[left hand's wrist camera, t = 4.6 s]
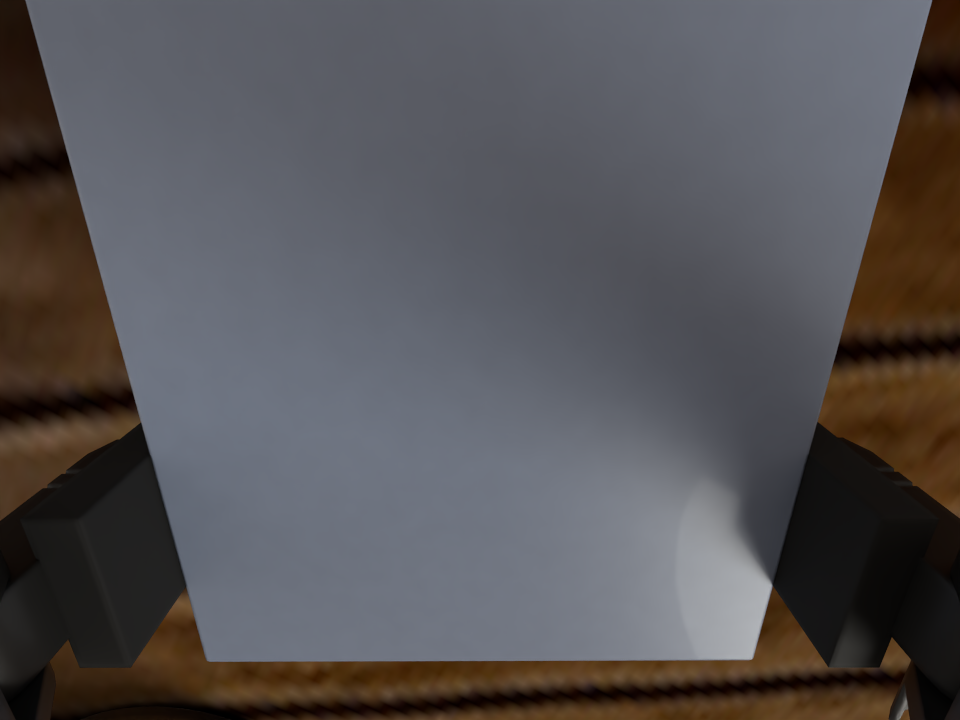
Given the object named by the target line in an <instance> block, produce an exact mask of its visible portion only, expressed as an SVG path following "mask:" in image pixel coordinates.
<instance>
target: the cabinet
mask: <svg viewBox="0 0 960 720" xmlns="http://www.w3.org/2000/svg"><path fill="white" fill-rule="evenodd" d="M931 2H932V0H26V4H27V8H28V11H29V15H30V19H31V22H32V26H33V30H34V33H35V37H36V40H37V44H38V48H39V51H40V55H41V59H42V62H43V66H44V70H45V73H46V77H47V81H48V84H49V88H50V92H51V95H52V99H53V102H54V106H55V110H56V113H57V117H58V121H59V124H60V128H61V132H62V135H63V139H64V143H65V146H66V150H67V154H68V157H69V161H70V164H71V168H72V172H73V175H74V179H75V183H76V186H77V190H78V194H79V197H80V201H81V205H82V208H83V212H84V216H85V219H86V223H87V226H88V230H89V234H90V237H91V241H92V245H93V248H94V252H95V256H96V259H97V263H98V267H99V270H100V274H101V278H102V281H103V285H104V288H105V292H106V296H107V299H108V303H109V307H110V310H111V314H112V318H113V321H114V325H115V329H116V332H117V336H118V340H119V343H120V347H121V350H122V354H123V358H124V361H125V365H126V369H127V372H128V376H129V380H130V383H131V387H132V391H133V394H134V398H135V402H136V405H137V409H138V412H139V416H140V420H141V423H142V427H143V431H144V434H145V438H146V442H147V445H148V449H149V453H150V456H151V460H152V464H153V467H154V471H155V474H156V478H157V482H158V485H159V489H160V493H161V496H162V500H163V504H164V507H165V511H166V515H167V518H168V522H169V526H170V529H171V533H172V536H173V540H174V544H175V547H176V551H177V555H178V558H179V562H180V566H181V569H182V573H183V577H184V580H185V584H186V588H187V591H188V595H189V598H190V602H191V606H192V609H193V613H194V617H195V620H196V624H197V628H198V631H199V635H200V639H201V642H202V646H203V650H204V653H205V657H206V660H207V661H210V662H227V661H574V660H751V659H752V658H753V656H754V653H755V649H756V645H757V641H758V638H759V634H760V630H761V627H762V623H763V619H764V616H765V612H766V608H767V605H768V601H769V597H770V594H771V590H772V586H773V583H774V579H775V575H776V572H777V568H778V564H779V561H780V557H781V553H782V550H783V546H784V542H785V539H786V535H787V531H788V528H789V524H790V520H791V517H792V513H793V509H794V506H795V502H796V498H797V495H798V491H799V487H800V484H801V480H802V476H803V472H804V469H805V465H806V461H807V458H808V454H809V450H810V447H811V443H812V439H813V436H814V432H815V428H816V425H817V421H818V417H819V414H820V410H821V406H822V403H823V399H824V395H825V392H826V388H827V384H828V381H829V377H830V373H831V370H832V366H833V362H834V359H835V355H836V351H837V348H838V344H839V340H840V337H841V333H842V329H843V326H844V322H845V318H846V314H847V311H848V307H849V303H850V300H851V296H852V292H853V289H854V285H855V281H856V278H857V274H858V270H859V267H860V263H861V259H862V256H863V252H864V248H865V245H866V241H867V237H868V234H869V230H870V226H871V223H872V219H873V215H874V212H875V208H876V204H877V201H878V197H879V193H880V190H881V186H882V182H883V179H884V175H885V171H886V168H887V164H888V160H889V156H890V153H891V149H892V145H893V142H894V138H895V134H896V131H897V127H898V123H899V120H900V116H901V112H902V109H903V105H904V101H905V98H906V94H907V90H908V87H909V83H910V79H911V76H912V72H913V68H914V65H915V61H916V57H917V54H918V50H919V46H920V43H921V39H922V35H923V32H924V28H925V24H926V21H927V17H928V13H929V10H930V6H931Z"/></svg>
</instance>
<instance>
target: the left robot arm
mask: <svg viewBox="0 0 960 720" xmlns="http://www.w3.org/2000/svg"><path fill="white" fill-rule="evenodd" d="M773 586H774V588H775V589H776V591H777V592H778V594H779V595H780V596H781V598H782V599H783V601H784V602H785V604H786V605H787V607H788V608H789V610H790V611H791V613H792V614H793V616H794V617H795V619H796V620H797V622H798V623H799V624H800V626H801V627H802V629H803V630H804V632H805V633H806V635H807V636H808V638H809V639H810V641H811V642H812V644H813V645H814V647H815V648H816V649H817V651H818V652H819V654H820V655H821V657H822V658H823V660H824V661H825V663H826V664H827V666H828V667H880V665H881V662H882V660H883V657H884V655H885V652H886V650H887V647H888V645H889V643H890V640H891V638H893V639H894V640H895V641H896V642H897V643H898V645H899V646H900V647H901V648H902V649H903V650H904V652H905V653H906V654H907V655H908V656H909V657H910V659H911V662H910V664H909V667H908V669H907V671H906V674H905V676H904V678H903V680H902V683H901V685H900V687H899V690H898V692H897V694H896V697H895V699H894V701H893V703H892V706H891V709H890V714H889V720H900V718H901V716H902V713H903V711H904V710H907V709H908V710H909V716H910V720H960V518H958V517H957V516H956V515H954V514H953V513H952V512H950V511H949V510H948V509H946V508H945V507H944V506H942V505H941V504H940V503H939V502H937V501H936V500H935V499H933V498H932V497H931V496H929V495H928V494H927V493H925V492H924V491H923V490H921V489H920V488H919V487H917V486H913V485H912V482H911V481H910V480H908V479H907V478H906V477H904V476H903V475H902V474H900V473H899V472H894V468H892V467H891V466H890V465H889V464H887V463H886V462H885V461H883V460H882V459H881V458H879V457H878V456H877V455H875V454H874V453H873V452H871V451H869V450H867V449H865V448H863V447H861V446H859V445H857V444H855V443H853V442H851V441H848V440H846V439H844V438H837V437H836V436H835V435H833V434H832V433H831V432H829V431H828V430H827V429H826V428H824V427H823V426H822V425H821V424H819V423H818V422H817V425H816V428H815V432H814V436H813V439H812V443H811V447H810V450H809V454H808V458H807V461H806V465H805V469H804V472H803V476H802V480H801V484H800V487H799V491H798V495H797V498H796V502H795V506H794V509H793V513H792V517H791V520H790V524H789V528H788V531H787V535H786V539H785V542H784V546H783V550H782V553H781V557H780V561H779V564H778V568H777V572H776V575H775V579H774V583H773ZM185 587H186V584H185V580H184V577H183V573H182V569H181V566H180V562H179V558H178V555H177V551H176V547H175V544H174V540H173V536H172V533H171V529H170V526H169V522H168V518H167V515H166V511H165V507H164V504H163V500H162V496H161V493H160V489H159V485H158V482H157V478H156V474H155V471H154V467H153V464H152V460H151V456H150V453H149V449H148V445H147V442H146V438H145V434H144V431H143V427H142V423H140V424H139V425H137V426H136V427H135V428H134V429H132V430H131V431H130V432H129V433H127V434H126V435H125V436H124V437H122V438H121V439H120V440H115V441H113V442H111V443H109V444H107V445H105V446H103V447H101V448H99V449H97V450H95V451H93V452H91V453H89V454H87V455H86V456H85V457H83V458H82V459H81V460H79V461H78V462H77V463H75V464H74V465H73V466H71V467H70V468H69V469H68V470H66V474H61V475H60V476H58V477H57V478H56V479H54V480H53V481H52V482H51V483H49V484H48V487H47V488H43V489H41V490H40V491H39V492H38V493H36V494H35V495H34V496H32V497H31V498H30V499H28V500H27V501H26V502H24V503H23V504H22V505H21V506H19V507H18V508H17V509H15V510H14V511H13V512H11V513H10V514H9V515H8V516H6V517H5V518H4V519H2V520H1V521H0V720H50V718H51V712H52V705H53V699H54V693H55V687H56V681H55V675H54V671H53V669H52V667H51V664H50V662H49V661H50V660H51V659H52V658H53V656H54V655H55V654H56V653H57V652H58V650H59V649H60V648H61V647H62V646H63V645H64V643H65V642H66V641H67V640H68V639H69V642H70V644H71V647H72V649H73V652H74V654H75V657H76V659H77V662H78V664H79V667H80V668H131V666H132V665H133V663H134V662H135V660H136V659H137V657H138V656H139V654H140V653H141V652H142V650H143V649H144V647H145V646H146V644H147V643H148V641H149V640H150V638H151V637H152V635H153V634H154V632H155V631H156V629H157V628H158V626H159V625H160V624H161V622H162V621H163V619H164V618H165V616H166V615H167V613H168V612H169V610H170V609H171V607H172V606H173V604H174V603H175V601H176V600H177V599H178V597H179V596H180V594H181V593H182V591H183V590H184V588H185ZM81 720H230V719H227V718H224V717H220V716H217V715H213V714H209V713H205V712H200V711H195V710H189V709H182V708H172V707H130V708H122V709H115V710H110V711H105V712H101V713H98V714H94V715H91V716H88V717H86V718H83V719H81Z"/></svg>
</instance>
